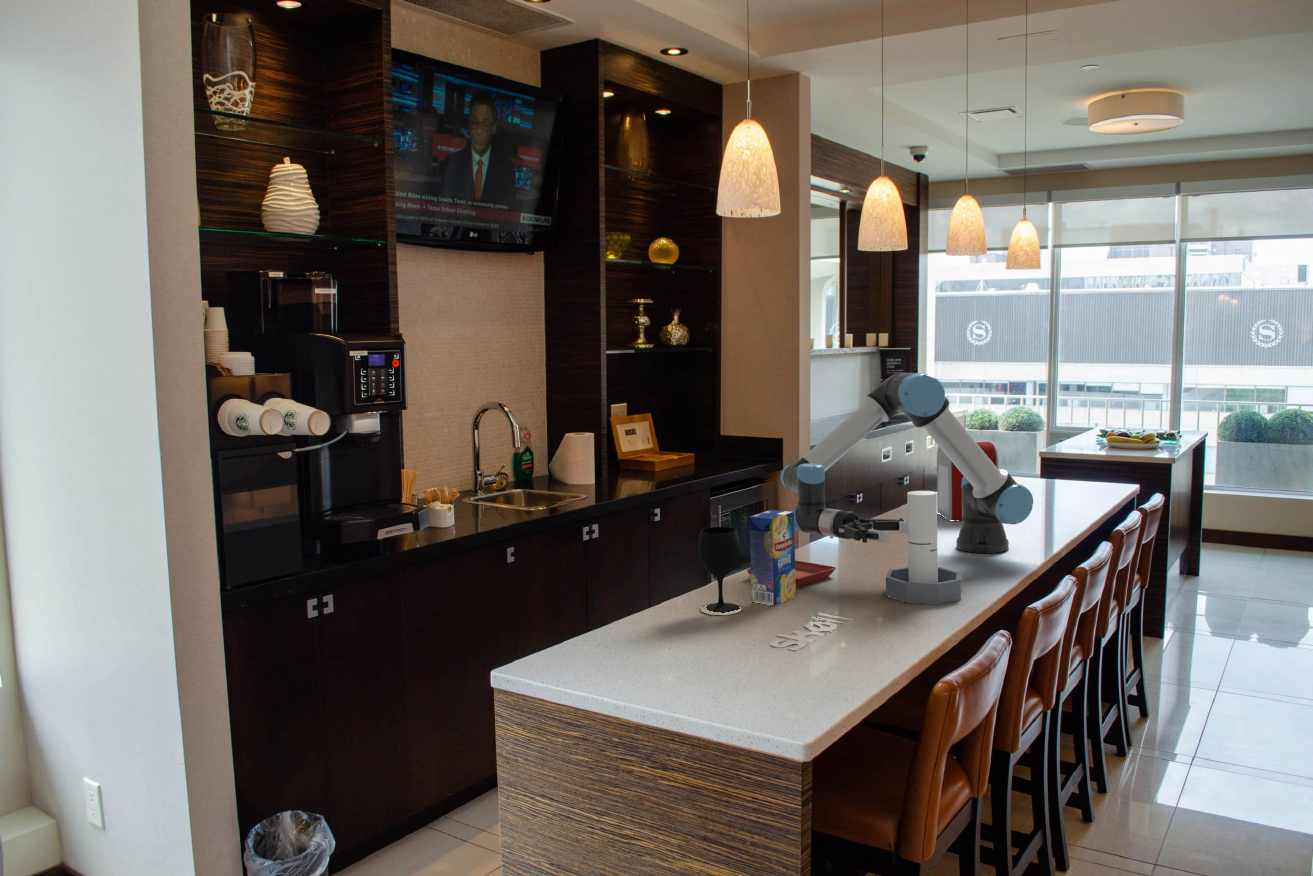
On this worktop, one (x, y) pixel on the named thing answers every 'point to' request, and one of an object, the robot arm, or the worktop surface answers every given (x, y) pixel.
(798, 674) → the worktop surface
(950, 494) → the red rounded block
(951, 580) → the bowl
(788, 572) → the beverage box
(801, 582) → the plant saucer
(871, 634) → the worktop surface
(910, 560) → the cylindrical container
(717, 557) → the wine glass
